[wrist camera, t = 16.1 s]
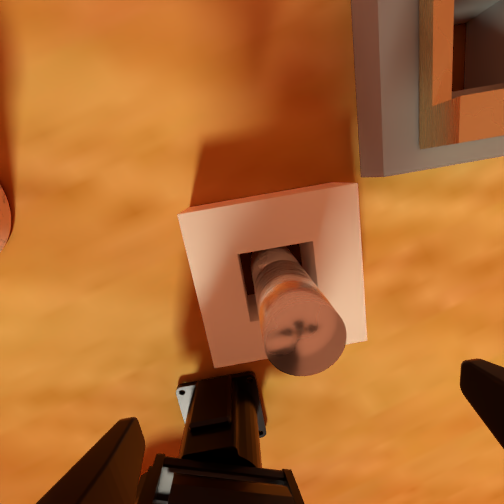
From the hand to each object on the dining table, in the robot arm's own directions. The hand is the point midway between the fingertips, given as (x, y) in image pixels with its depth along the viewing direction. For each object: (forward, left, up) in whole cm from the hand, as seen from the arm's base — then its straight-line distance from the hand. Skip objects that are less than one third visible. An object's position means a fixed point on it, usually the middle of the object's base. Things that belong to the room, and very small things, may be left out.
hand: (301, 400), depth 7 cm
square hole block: (0, -1, -13) cm, 13 cm away
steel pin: (0, -1, -13) cm, 13 cm away
